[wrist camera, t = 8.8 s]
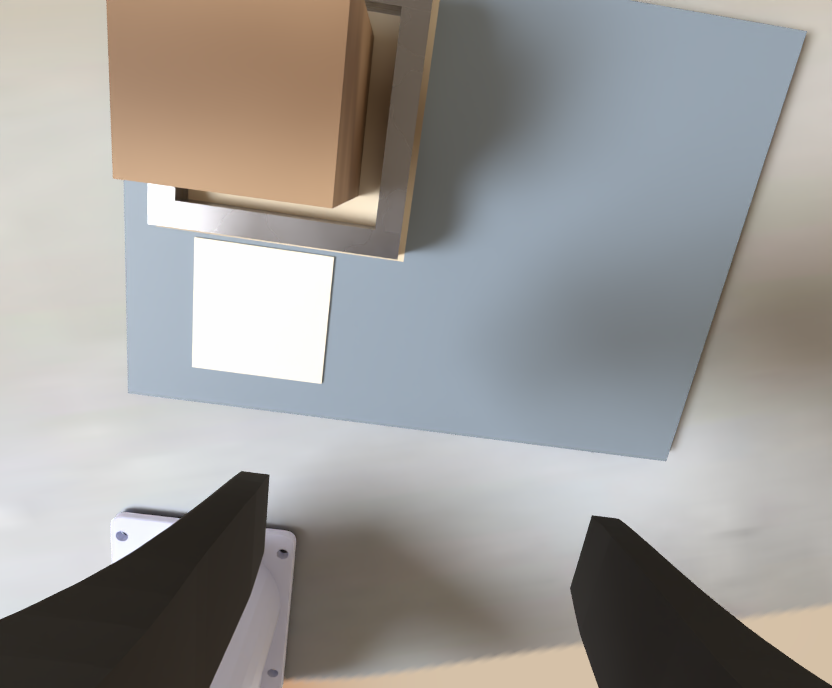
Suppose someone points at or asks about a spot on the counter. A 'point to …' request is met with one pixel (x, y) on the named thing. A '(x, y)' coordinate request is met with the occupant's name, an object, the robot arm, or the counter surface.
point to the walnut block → (241, 96)
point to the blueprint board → (482, 232)
